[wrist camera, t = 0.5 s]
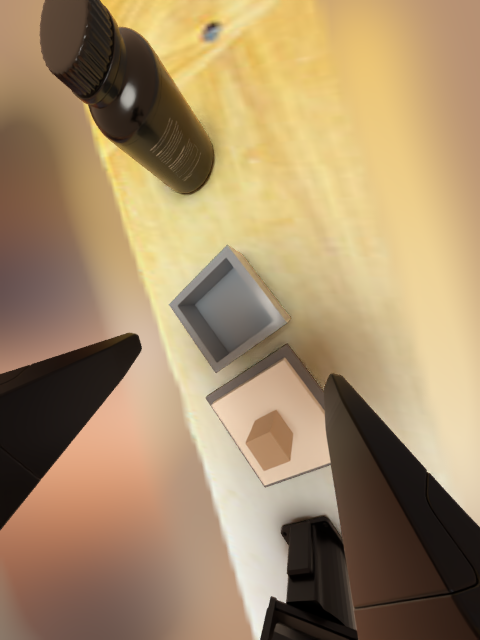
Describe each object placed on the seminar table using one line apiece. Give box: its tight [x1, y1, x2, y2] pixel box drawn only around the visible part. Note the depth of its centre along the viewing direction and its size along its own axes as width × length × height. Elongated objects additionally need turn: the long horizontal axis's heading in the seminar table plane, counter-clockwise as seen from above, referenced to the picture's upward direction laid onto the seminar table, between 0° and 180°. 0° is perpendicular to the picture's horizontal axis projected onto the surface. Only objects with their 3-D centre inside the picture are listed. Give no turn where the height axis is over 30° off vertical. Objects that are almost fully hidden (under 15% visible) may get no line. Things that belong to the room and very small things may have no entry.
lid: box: [211, 357, 331, 486], centre depth 19 cm, size 11×11×4 cm
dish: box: [169, 245, 291, 373], centre depth 20 cm, size 9×9×4 cm
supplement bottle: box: [40, 0, 213, 193], centre depth 16 cm, size 7×7×12 cm
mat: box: [206, 344, 331, 487], centre depth 21 cm, size 13×13×1 cm
